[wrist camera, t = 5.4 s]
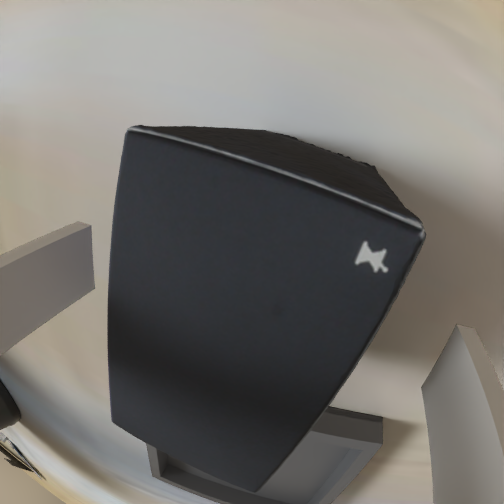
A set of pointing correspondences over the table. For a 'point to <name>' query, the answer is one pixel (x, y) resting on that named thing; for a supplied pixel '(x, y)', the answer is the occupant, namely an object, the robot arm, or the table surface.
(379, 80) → the table surface
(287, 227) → the small box
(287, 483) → the holder tray
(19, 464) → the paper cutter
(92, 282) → the robot arm
